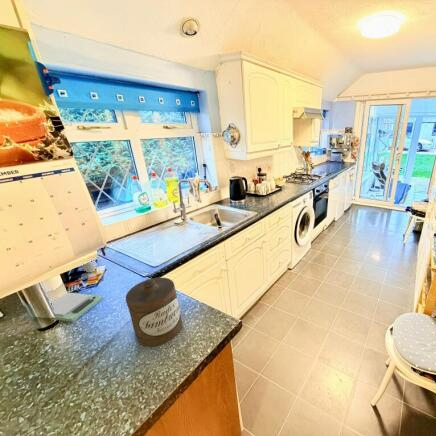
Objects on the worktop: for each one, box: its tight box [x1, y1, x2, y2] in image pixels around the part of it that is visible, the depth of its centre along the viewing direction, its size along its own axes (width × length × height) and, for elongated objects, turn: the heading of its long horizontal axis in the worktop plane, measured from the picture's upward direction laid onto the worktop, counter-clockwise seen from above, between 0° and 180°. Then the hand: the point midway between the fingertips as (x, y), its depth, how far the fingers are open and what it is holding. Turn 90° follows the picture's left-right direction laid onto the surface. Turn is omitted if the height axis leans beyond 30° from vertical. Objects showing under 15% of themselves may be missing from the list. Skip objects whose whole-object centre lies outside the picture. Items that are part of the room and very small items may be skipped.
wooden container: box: [125, 277, 183, 348], centre depth 83 cm, size 15×15×22 cm
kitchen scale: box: [50, 291, 104, 323], centre depth 94 cm, size 16×13×4 cm
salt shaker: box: [81, 260, 98, 273], centre depth 118 cm, size 6×6×13 cm
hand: (88, 260), depth 118 cm, fingers open, 13 cm apart
